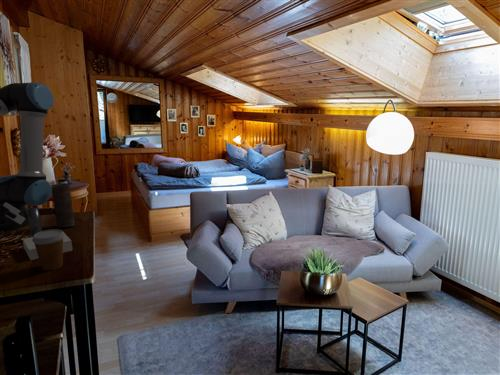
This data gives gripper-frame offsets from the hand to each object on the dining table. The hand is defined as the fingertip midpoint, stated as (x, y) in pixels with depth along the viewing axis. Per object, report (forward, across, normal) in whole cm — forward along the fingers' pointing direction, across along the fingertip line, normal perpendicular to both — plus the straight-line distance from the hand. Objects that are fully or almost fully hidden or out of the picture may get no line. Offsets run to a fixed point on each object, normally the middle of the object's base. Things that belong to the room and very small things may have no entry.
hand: (20, 217), depth 144 cm
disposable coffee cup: (+10, +33, -5) cm, 35 cm away
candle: (+20, -10, +5) cm, 23 cm away
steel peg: (+11, -1, -4) cm, 12 cm away
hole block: (+12, +15, -3) cm, 19 cm away
